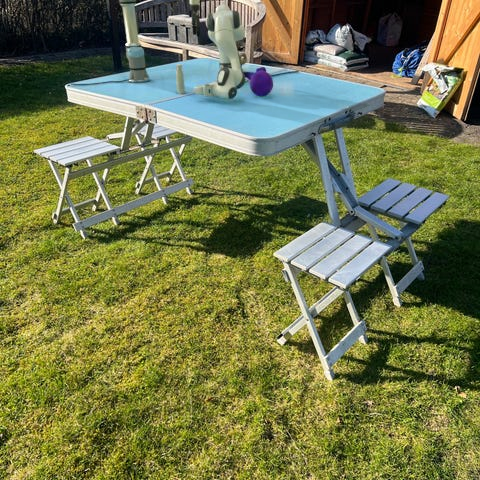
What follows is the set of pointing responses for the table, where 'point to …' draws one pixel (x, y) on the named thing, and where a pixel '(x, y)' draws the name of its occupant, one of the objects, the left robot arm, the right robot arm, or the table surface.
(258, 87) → the toy
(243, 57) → the teapot
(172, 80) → the table surface
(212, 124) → the table surface
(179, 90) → the bottle
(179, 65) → the cap
